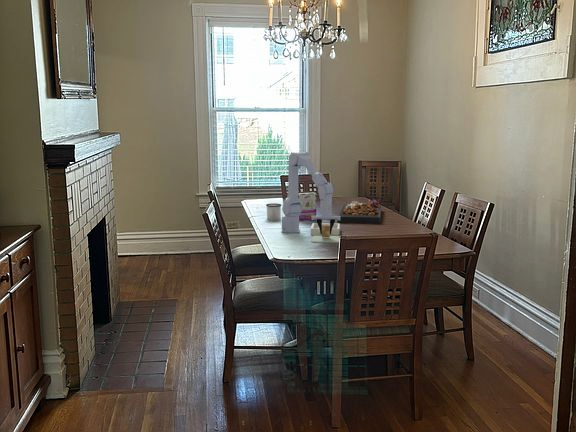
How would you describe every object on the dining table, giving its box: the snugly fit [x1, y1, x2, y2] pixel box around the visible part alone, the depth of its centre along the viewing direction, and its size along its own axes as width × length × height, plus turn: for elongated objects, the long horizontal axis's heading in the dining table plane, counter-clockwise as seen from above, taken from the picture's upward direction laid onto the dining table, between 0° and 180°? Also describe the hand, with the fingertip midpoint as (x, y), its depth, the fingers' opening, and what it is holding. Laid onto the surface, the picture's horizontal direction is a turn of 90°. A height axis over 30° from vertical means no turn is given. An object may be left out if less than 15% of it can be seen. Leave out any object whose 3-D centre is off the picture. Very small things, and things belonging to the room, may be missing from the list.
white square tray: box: [310, 222, 341, 236], centre depth 311 cm, size 15×15×4 cm
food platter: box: [336, 198, 382, 225], centre depth 357 cm, size 45×25×10 cm, turn 170°
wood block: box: [321, 224, 331, 238], centre depth 293 cm, size 4×4×6 cm
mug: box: [265, 202, 283, 221], centre depth 351 cm, size 12×10×9 cm
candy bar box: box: [298, 192, 317, 222], centre depth 346 cm, size 11×5×16 cm, turn 101°
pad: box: [310, 235, 341, 244], centre depth 293 cm, size 14×14×1 cm
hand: (325, 233), depth 293 cm, fingers closed on wood block, 4 cm apart
